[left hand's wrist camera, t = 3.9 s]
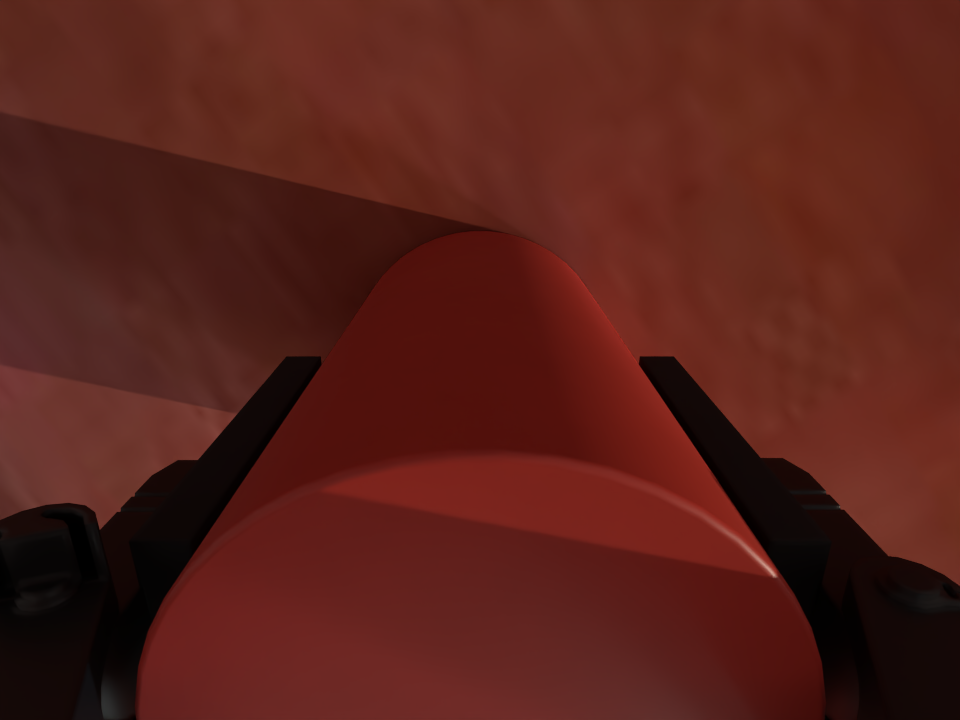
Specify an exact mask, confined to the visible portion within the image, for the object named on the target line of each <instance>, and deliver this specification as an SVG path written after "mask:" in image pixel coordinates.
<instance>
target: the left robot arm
mask: <svg viewBox="0 0 960 720" xmlns="http://www.w3.org/2000/svg"><path fill="white" fill-rule="evenodd" d="M639 366H640V367H641V369H642V370H643V372H644V373H645V375H646V376H647V378H648V379H649V380H650V382H651V383H652V385H653V386H654V388H655V389H656V391H657V392H658V394H659V395H660V397H661V398H662V400H663V401H664V403H665V404H666V406H667V407H668V408H669V410H670V411H671V413H672V414H673V416H674V417H675V419H676V420H677V422H678V423H679V425H680V426H681V428H682V429H683V431H684V432H685V434H686V435H687V436H688V438H689V439H690V441H691V442H692V444H693V445H694V447H695V448H696V450H697V451H698V453H699V454H700V456H701V457H702V459H703V460H704V462H705V463H706V465H707V466H708V467H709V469H710V470H711V472H712V473H713V475H714V476H715V478H716V479H717V481H718V482H719V484H720V485H721V487H722V488H723V490H724V491H725V493H726V494H727V495H728V497H729V498H730V500H731V501H732V503H733V504H734V506H735V507H736V509H737V510H738V512H739V513H740V515H741V516H742V518H743V519H744V521H745V522H746V523H747V525H748V526H749V528H750V529H751V531H752V532H753V534H754V535H755V537H756V538H757V540H758V541H759V543H760V544H761V546H762V547H763V549H764V550H765V551H766V553H767V554H768V556H769V557H770V559H771V560H772V562H773V563H774V565H775V566H776V568H777V569H778V571H779V572H780V574H781V575H782V577H783V578H784V580H785V581H786V582H787V584H788V585H789V587H790V588H791V590H792V591H793V593H794V594H795V596H796V598H797V600H798V602H799V604H800V606H801V608H802V610H803V612H804V614H805V616H806V618H807V620H808V622H809V624H810V626H811V628H812V631H813V634H814V638H815V641H816V644H817V648H818V651H819V654H820V658H821V661H822V669H823V678H824V688H825V697H826V709H825V720H960V586H959V585H957V584H956V583H955V582H953V581H952V580H950V579H949V578H948V577H946V576H945V575H943V574H941V573H939V572H937V571H935V570H933V569H931V568H928V567H926V566H924V565H922V564H919V563H916V562H912V561H909V560H906V559H902V558H899V557H890V556H888V555H887V554H886V553H885V552H884V551H883V550H882V549H881V548H880V547H879V546H878V545H877V544H876V543H875V542H874V541H873V540H872V539H871V538H870V537H869V536H868V534H867V533H866V532H865V531H864V530H863V529H862V528H861V527H860V526H859V525H858V524H857V523H856V522H855V521H854V520H853V519H852V518H851V517H850V516H849V515H848V514H847V513H846V512H845V510H841V509H840V505H839V504H838V503H837V502H836V501H835V500H834V499H833V498H832V497H831V496H830V495H826V491H825V490H824V489H823V488H822V486H821V485H820V484H819V483H818V482H817V481H816V480H815V479H814V478H813V477H812V476H811V475H810V474H809V473H807V472H806V471H804V470H802V469H801V468H799V467H797V466H795V465H794V464H792V463H790V462H789V461H787V460H785V459H783V458H760V457H759V456H758V454H757V453H756V452H755V451H754V450H753V449H752V447H751V446H750V445H749V444H748V443H747V442H746V440H745V439H744V438H743V437H742V436H741V435H740V433H739V432H738V431H737V430H736V429H735V427H734V426H733V425H732V424H731V423H730V422H729V420H728V419H727V418H726V417H725V416H724V415H723V413H722V412H721V411H720V410H719V409H718V408H717V406H716V405H715V404H714V403H713V402H712V401H711V399H710V398H709V397H708V396H707V395H706V394H705V392H704V391H703V390H702V389H701V388H700V387H699V385H698V384H697V383H696V382H695V381H694V380H693V378H692V377H691V376H690V375H689V374H688V373H687V371H686V370H685V369H684V368H683V367H682V366H681V364H680V363H679V362H678V361H677V360H676V359H675V357H640V360H639ZM320 367H321V357H286V358H285V359H284V360H283V361H282V363H281V364H280V365H279V366H278V367H277V368H276V370H275V371H274V372H273V373H272V374H271V375H270V377H269V378H268V379H267V380H266V381H265V382H264V384H263V385H262V386H261V387H260V388H259V389H258V391H257V392H256V393H255V394H254V395H253V396H252V398H251V399H250V400H249V401H248V402H247V403H246V405H245V406H244V407H243V408H242V409H241V410H240V412H239V413H238V414H237V415H236V416H235V417H234V419H233V420H232V421H231V422H230V423H229V425H228V426H227V427H226V428H225V429H224V430H223V432H222V433H221V434H220V435H219V436H218V437H217V439H216V440H215V441H214V442H213V443H212V444H211V446H210V447H209V448H208V449H207V450H206V451H205V453H204V454H203V455H202V456H201V457H200V458H199V460H178V461H176V462H174V463H172V464H171V465H169V466H167V467H166V468H164V469H162V470H160V471H159V472H157V473H155V474H154V475H152V476H151V477H150V478H149V479H148V480H147V481H146V482H145V483H144V484H143V485H142V486H141V488H140V489H139V490H138V491H137V492H136V493H135V497H131V498H130V499H129V500H128V501H127V502H126V503H125V504H124V505H123V506H122V507H121V512H117V513H116V514H115V515H114V516H113V517H112V518H111V519H110V520H109V521H108V522H107V523H106V524H105V525H104V526H103V527H102V529H101V530H100V529H99V526H98V522H97V518H96V514H95V512H94V511H92V510H91V509H90V508H88V507H87V506H85V505H79V504H72V503H63V504H51V505H44V506H40V507H36V508H33V509H29V510H25V511H21V512H19V513H16V514H14V515H12V516H9V517H7V518H4V519H2V520H0V720H136V714H135V697H136V685H137V673H138V665H139V662H140V658H141V654H142V651H143V647H144V643H145V640H146V636H147V633H148V630H149V628H150V626H151V624H152V622H153V620H154V618H155V616H156V614H157V612H158V609H159V607H160V605H161V603H162V601H163V599H164V597H165V596H166V594H167V593H168V591H169V590H170V589H171V587H172V586H173V584H174V583H175V581H176V580H177V578H178V577H179V575H180V574H181V572H182V571H183V569H184V568H185V566H186V565H187V563H188V562H189V560H190V559H191V557H192V556H193V554H194V553H195V552H196V550H197V549H198V547H199V546H200V544H201V543H202V541H203V540H204V538H205V537H206V535H207V534H208V532H209V531H210V529H211V528H212V526H213V525H214V523H215V522H216V520H217V519H218V518H219V516H220V515H221V513H222V512H223V510H224V509H225V507H226V506H227V504H228V503H229V501H230V500H231V498H232V497H233V495H234V494H235V492H236V491H237V489H238V488H239V486H240V485H241V483H242V482H243V481H244V479H245V478H246V476H247V475H248V473H249V472H250V470H251V469H252V467H253V466H254V464H255V463H256V461H257V460H258V458H259V457H260V455H261V454H262V452H263V451H264V449H265V448H266V446H267V445H268V444H269V442H270V441H271V439H272V438H273V436H274V435H275V433H276V432H277V430H278V429H279V427H280V426H281V424H282V423H283V421H284V420H285V418H286V417H287V415H288V414H289V412H290V411H291V410H292V408H293V407H294V405H295V404H296V402H297V401H298V399H299V398H300V396H301V395H302V393H303V392H304V390H305V389H306V387H307V386H308V384H309V383H310V381H311V380H312V378H313V377H314V375H315V374H316V373H317V371H318V370H319V368H320Z"/></svg>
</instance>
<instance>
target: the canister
mask: <svg viewBox="0 0 960 720" xmlns="http://www.w3.org/2000/svg"><path fill="white" fill-rule="evenodd" d="M825 709H826V697H825V688H824V678H823V669H822V661H821V658H820V654H819V651H818V648H817V644H816V641H815V638H814V634H813V631H812V628H811V626H810V624H809V622H808V620H807V618H806V616H805V614H804V612H803V610H802V608H801V606H800V604H799V602H798V600H797V598H796V596H795V594H794V593H793V591H792V590H791V588H790V587H789V585H788V584H787V582H786V581H785V580H784V578H783V577H782V575H781V574H780V572H779V571H778V569H777V568H776V566H775V565H774V563H773V562H772V560H771V559H770V557H769V556H768V554H767V553H766V551H765V550H764V549H763V547H762V546H761V544H760V543H759V541H758V540H757V538H756V537H755V535H754V534H753V532H752V531H751V529H750V528H749V526H748V525H747V523H746V522H745V521H744V519H743V518H742V516H741V515H740V513H739V512H738V510H737V509H736V507H735V506H734V504H733V503H732V501H731V500H730V498H729V497H728V495H727V494H726V493H725V491H724V490H723V488H722V487H721V485H720V484H719V482H718V481H717V479H716V478H715V476H714V475H713V473H712V472H711V470H710V469H709V467H708V466H707V465H706V463H705V462H704V460H703V459H702V457H701V456H700V454H699V453H698V451H697V450H696V448H695V447H694V445H693V444H692V442H691V441H690V439H689V438H688V436H687V435H686V434H685V432H684V431H683V429H682V428H681V426H680V425H679V423H678V422H677V420H676V419H675V417H674V416H673V414H672V413H671V411H670V410H669V408H668V407H667V406H666V404H665V403H664V401H663V400H662V398H661V397H660V395H659V394H658V392H657V391H656V389H655V388H654V386H653V385H652V383H651V382H650V380H649V379H648V378H647V376H646V375H645V373H644V372H643V370H642V369H641V367H640V366H639V364H638V363H637V361H636V360H635V358H634V357H633V355H632V354H631V352H630V351H629V350H628V348H627V347H626V345H625V344H624V342H623V341H622V339H621V338H620V336H619V335H618V333H617V332H616V330H615V329H614V327H613V326H612V324H611V323H610V321H609V320H608V319H607V317H606V316H605V314H604V313H603V311H602V310H601V308H600V307H599V305H598V304H597V302H596V301H595V299H594V298H593V296H592V295H591V293H590V292H589V291H588V289H587V288H586V286H585V285H584V284H583V282H582V281H581V279H580V278H579V277H578V275H577V274H576V273H575V272H574V271H573V270H572V269H571V268H570V267H569V266H568V265H567V264H566V263H565V262H564V261H562V260H561V259H560V258H559V257H557V256H556V255H555V254H553V253H552V252H550V251H549V250H547V249H545V248H544V247H542V246H540V245H538V244H536V243H534V242H531V241H529V240H527V239H524V238H522V237H518V236H514V235H510V234H506V233H500V232H492V231H468V232H461V233H454V234H450V235H446V236H443V237H439V238H436V239H434V240H431V241H429V242H427V243H424V244H422V245H420V246H418V247H417V248H415V249H413V250H412V251H410V252H408V253H407V254H405V255H404V256H403V257H402V258H400V259H399V260H398V261H397V262H395V263H394V264H393V265H392V266H391V267H390V268H389V269H388V270H387V271H386V273H385V274H384V275H383V276H382V277H381V278H380V280H379V281H378V283H377V284H376V285H375V287H374V288H373V290H372V291H371V293H370V294H369V296H368V297H367V299H366V300H365V302H364V303H363V304H362V306H361V307H360V309H359V310H358V312H357V313H356V315H355V316H354V318H353V319H352V321H351V322H350V324H349V325H348V327H347V328H346V330H345V331H344V333H343V334H342V336H341V337H340V338H339V340H338V341H337V343H336V344H335V346H334V347H333V349H332V350H331V352H330V353H329V355H328V356H327V358H326V359H325V361H324V362H323V364H322V365H321V367H320V368H319V370H318V371H317V373H316V374H315V375H314V377H313V378H312V380H311V381H310V383H309V384H308V386H307V387H306V389H305V390H304V392H303V393H302V395H301V396H300V398H299V399H298V401H297V402H296V404H295V405H294V407H293V408H292V410H291V411H290V412H289V414H288V415H287V417H286V418H285V420H284V421H283V423H282V424H281V426H280V427H279V429H278V430H277V432H276V433H275V435H274V436H273V438H272V439H271V441H270V442H269V444H268V445H267V446H266V448H265V449H264V451H263V452H262V454H261V455H260V457H259V458H258V460H257V461H256V463H255V464H254V466H253V467H252V469H251V470H250V472H249V473H248V475H247V476H246V478H245V479H244V481H243V482H242V483H241V485H240V486H239V488H238V489H237V491H236V492H235V494H234V495H233V497H232V498H231V500H230V501H229V503H228V504H227V506H226V507H225V509H224V510H223V512H222V513H221V515H220V516H219V518H218V519H217V520H216V522H215V523H214V525H213V526H212V528H211V529H210V531H209V532H208V534H207V535H206V537H205V538H204V540H203V541H202V543H201V544H200V546H199V547H198V549H197V550H196V552H195V553H194V554H193V556H192V557H191V559H190V560H189V562H188V563H187V565H186V566H185V568H184V569H183V571H182V572H181V574H180V575H179V577H178V578H177V580H176V581H175V583H174V584H173V586H172V587H171V589H170V590H169V591H168V593H167V594H166V596H165V597H164V599H163V601H162V603H161V605H160V607H159V609H158V612H157V614H156V616H155V618H154V620H153V622H152V624H151V626H150V628H149V630H148V633H147V636H146V640H145V643H144V647H143V651H142V654H141V658H140V662H139V665H138V673H137V685H136V697H135V714H136V720H825Z"/></svg>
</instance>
